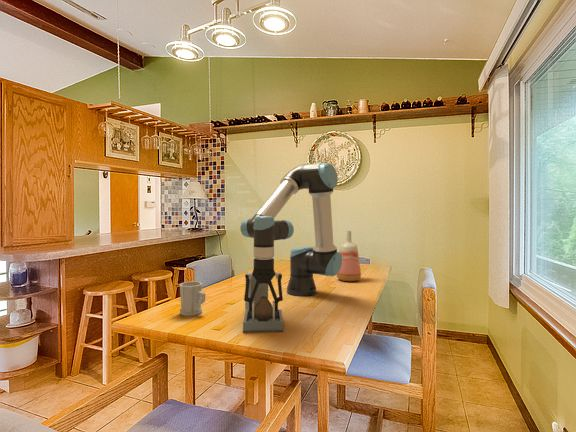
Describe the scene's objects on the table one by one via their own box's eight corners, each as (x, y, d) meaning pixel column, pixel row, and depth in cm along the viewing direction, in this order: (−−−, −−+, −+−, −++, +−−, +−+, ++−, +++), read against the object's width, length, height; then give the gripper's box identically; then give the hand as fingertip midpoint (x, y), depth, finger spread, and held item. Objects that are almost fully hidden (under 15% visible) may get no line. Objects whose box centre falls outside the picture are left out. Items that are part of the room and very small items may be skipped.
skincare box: (250, 314, 135) (250, 275, 134) (244, 309, 141) (244, 272, 141) (269, 311, 139) (269, 274, 138) (262, 307, 145) (262, 270, 144)
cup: (206, 308, 142) (206, 281, 141) (205, 315, 133) (205, 286, 132) (181, 310, 140) (181, 281, 139) (177, 317, 131) (177, 287, 130)
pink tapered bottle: (331, 279, 199) (332, 230, 199) (346, 276, 209) (346, 229, 208) (351, 284, 189) (351, 232, 188) (365, 280, 199) (366, 231, 198)
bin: (281, 318, 130) (281, 309, 130) (283, 331, 116) (283, 321, 116) (245, 318, 130) (245, 309, 129) (242, 332, 116) (243, 322, 115)
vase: (254, 317, 126) (254, 294, 126) (272, 316, 127) (272, 294, 126) (253, 323, 119) (253, 299, 119) (273, 323, 120) (273, 299, 119)
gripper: (289, 256, 127) (289, 315, 127) (237, 256, 125) (237, 316, 126) (291, 259, 119) (290, 322, 120) (235, 259, 118) (235, 323, 119)
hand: (263, 319), depth 123 cm, fingers closed on vase, 7 cm apart
